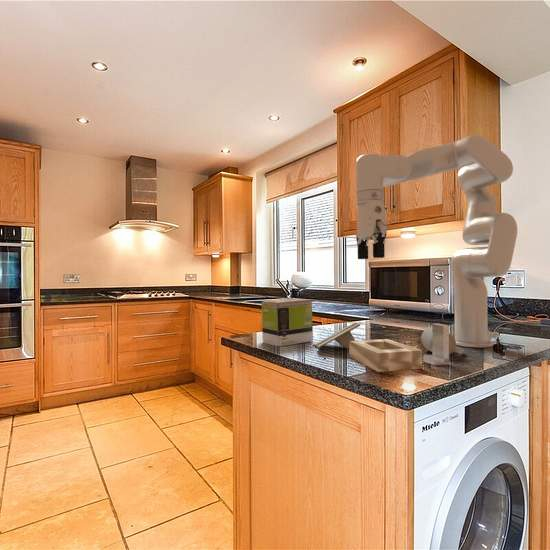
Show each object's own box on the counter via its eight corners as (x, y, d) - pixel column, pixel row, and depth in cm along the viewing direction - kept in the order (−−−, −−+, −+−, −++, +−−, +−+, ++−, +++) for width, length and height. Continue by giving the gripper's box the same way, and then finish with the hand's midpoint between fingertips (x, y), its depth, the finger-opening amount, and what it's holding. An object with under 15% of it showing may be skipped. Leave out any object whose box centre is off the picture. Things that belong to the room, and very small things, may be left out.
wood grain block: (437, 360, 98) (437, 323, 98) (448, 364, 94) (448, 325, 94) (423, 361, 97) (423, 324, 97) (434, 365, 93) (434, 326, 92)
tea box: (295, 337, 134) (295, 297, 133) (313, 342, 125) (313, 299, 125) (261, 342, 125) (260, 299, 125) (277, 347, 117) (277, 301, 117)
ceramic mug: (431, 357, 102) (432, 329, 102) (420, 350, 110) (420, 325, 110) (469, 357, 102) (470, 330, 101) (455, 351, 110) (456, 325, 110)
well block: (387, 354, 105) (387, 339, 105) (422, 368, 90) (422, 350, 90) (349, 357, 102) (349, 341, 102) (378, 371, 87) (378, 353, 87)
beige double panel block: (338, 369, 104) (376, 334, 105) (317, 346, 105) (355, 312, 106) (331, 364, 120) (364, 334, 121) (313, 344, 121) (346, 314, 123)
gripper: (397, 192, 96) (398, 257, 97) (368, 204, 113) (368, 259, 114) (371, 192, 95) (372, 257, 95) (345, 204, 112) (346, 259, 112)
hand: (370, 258), depth 104 cm, fingers open, 9 cm apart
